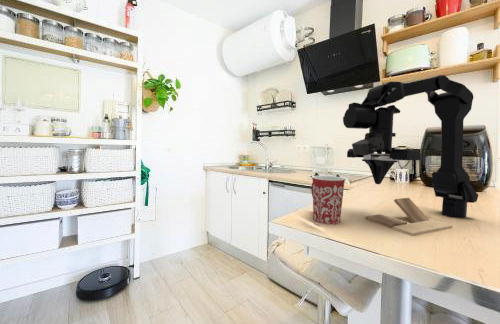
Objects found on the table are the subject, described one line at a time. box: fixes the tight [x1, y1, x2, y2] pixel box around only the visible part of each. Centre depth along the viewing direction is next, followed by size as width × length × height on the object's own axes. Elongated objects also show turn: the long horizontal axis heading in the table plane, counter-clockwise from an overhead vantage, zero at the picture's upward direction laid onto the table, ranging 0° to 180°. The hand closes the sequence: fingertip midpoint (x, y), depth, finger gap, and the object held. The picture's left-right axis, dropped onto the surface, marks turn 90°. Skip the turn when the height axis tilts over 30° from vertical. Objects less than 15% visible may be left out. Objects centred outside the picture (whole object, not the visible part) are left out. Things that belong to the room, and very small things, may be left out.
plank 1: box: [364, 213, 408, 229], centre depth 61 cm, size 6×8×1 cm
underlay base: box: [392, 219, 454, 237], centre depth 61 cm, size 16×14×2 cm
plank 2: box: [393, 197, 431, 223], centre depth 63 cm, size 6×8×1 cm
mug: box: [311, 175, 346, 227], centre depth 64 cm, size 13×9×14 cm
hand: (377, 184), depth 62 cm, fingers closed
